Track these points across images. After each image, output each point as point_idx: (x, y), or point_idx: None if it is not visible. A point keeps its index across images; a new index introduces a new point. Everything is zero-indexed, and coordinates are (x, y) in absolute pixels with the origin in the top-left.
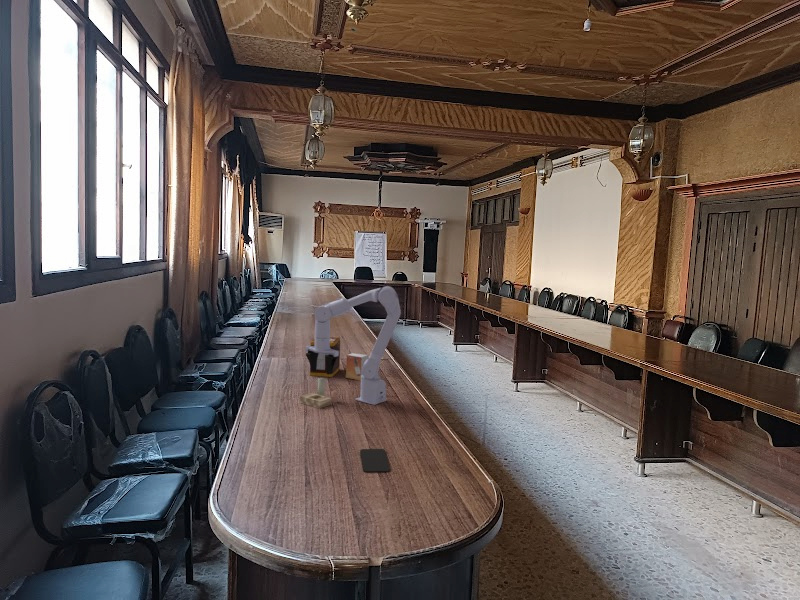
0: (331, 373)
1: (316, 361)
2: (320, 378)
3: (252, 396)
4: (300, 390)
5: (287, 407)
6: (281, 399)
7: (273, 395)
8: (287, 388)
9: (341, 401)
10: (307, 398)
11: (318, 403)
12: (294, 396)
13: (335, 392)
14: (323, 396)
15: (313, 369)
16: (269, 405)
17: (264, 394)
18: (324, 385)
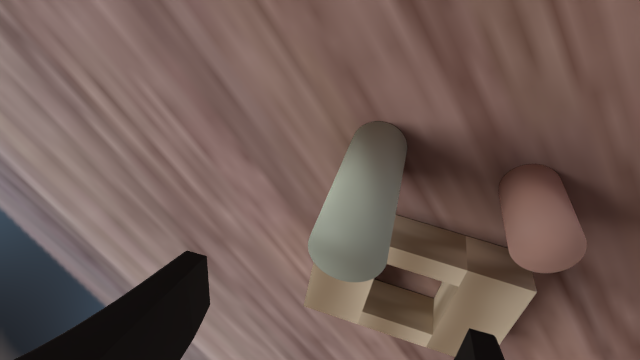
0: (496, 344)
1: (114, 354)
2: (327, 239)
3: (61, 254)
4: (123, 33)
5: (310, 344)
6: None
7: (107, 209)
8: (24, 36)
9: (592, 160)
10: (369, 326)
11: None
12: (204, 183)
13: (565, 269)
14: (456, 276)
15: (197, 310)
16: (223, 337)
17: (63, 210)
18: (395, 206)
